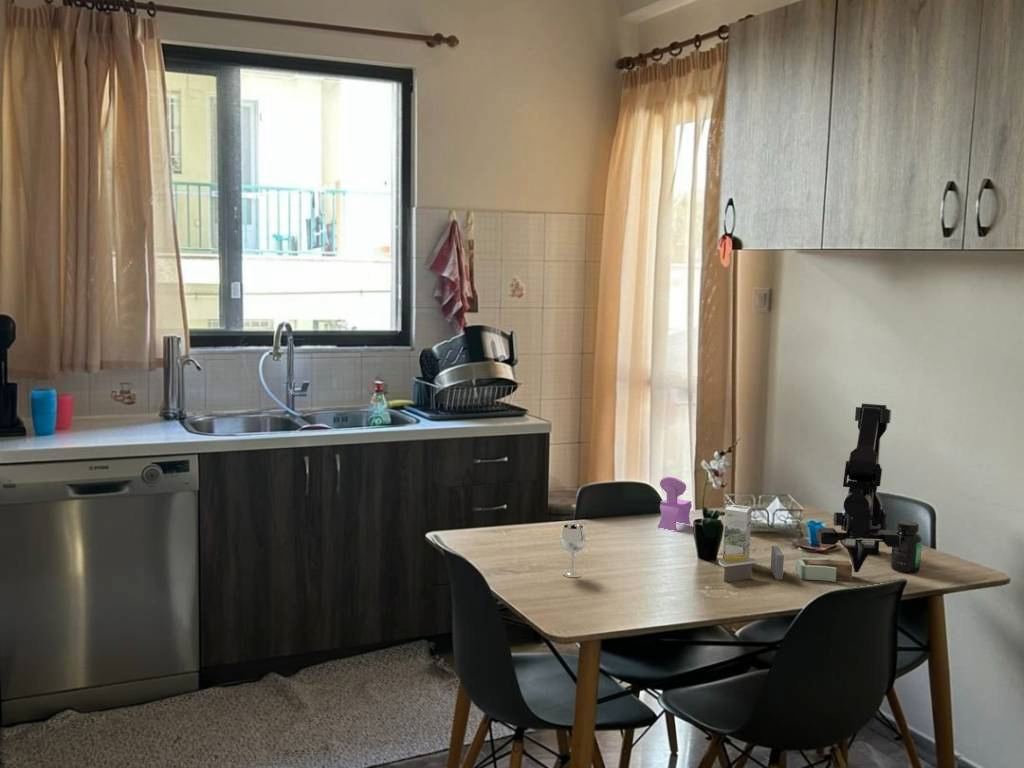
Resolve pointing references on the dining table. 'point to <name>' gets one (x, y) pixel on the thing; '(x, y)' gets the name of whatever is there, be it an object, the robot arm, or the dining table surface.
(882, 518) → the robot arm
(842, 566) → the brown rectangular block
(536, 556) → the dining table surface
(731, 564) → the platform
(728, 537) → the syrup box
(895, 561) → the supplement bottle
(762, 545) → the dining table surface
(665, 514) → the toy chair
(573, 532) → the wineglass
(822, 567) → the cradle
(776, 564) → the wall
